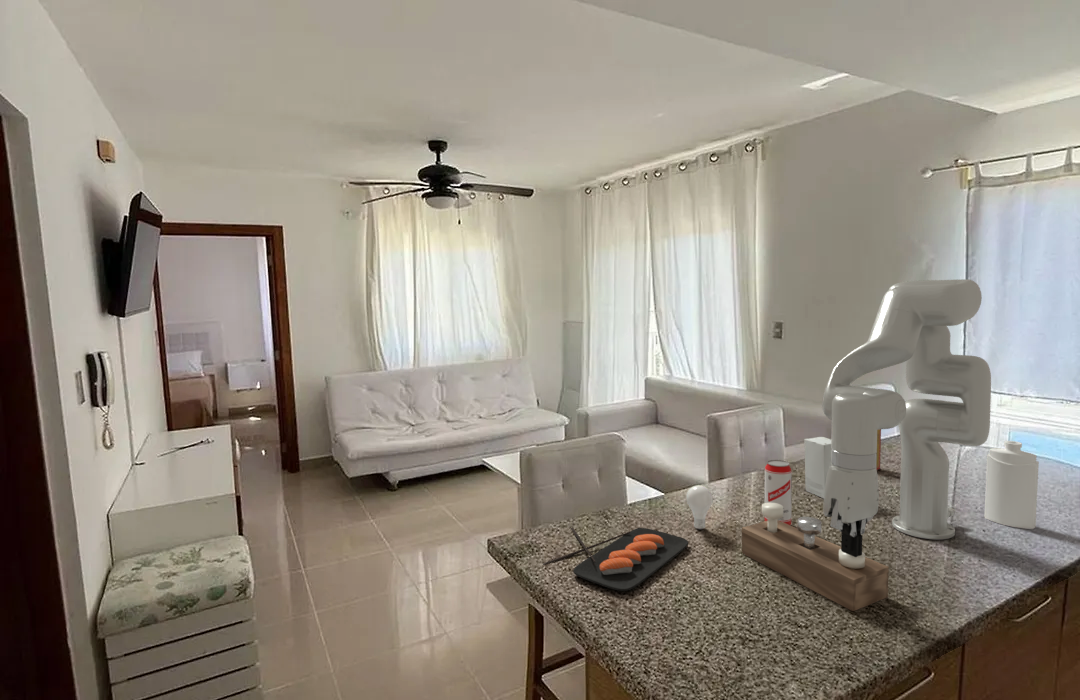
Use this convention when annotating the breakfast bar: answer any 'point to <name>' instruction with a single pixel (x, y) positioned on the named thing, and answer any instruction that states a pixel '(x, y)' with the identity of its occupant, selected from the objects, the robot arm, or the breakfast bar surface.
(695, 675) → the breakfast bar surface
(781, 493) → the beer can
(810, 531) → the middle knob
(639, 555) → the sushi plate
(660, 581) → the breakfast bar surface
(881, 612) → the breakfast bar surface
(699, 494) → the lightbulb
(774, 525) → the knob
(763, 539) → the knob block
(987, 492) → the squeeze bottle
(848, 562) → the knob
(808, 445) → the skincare box
